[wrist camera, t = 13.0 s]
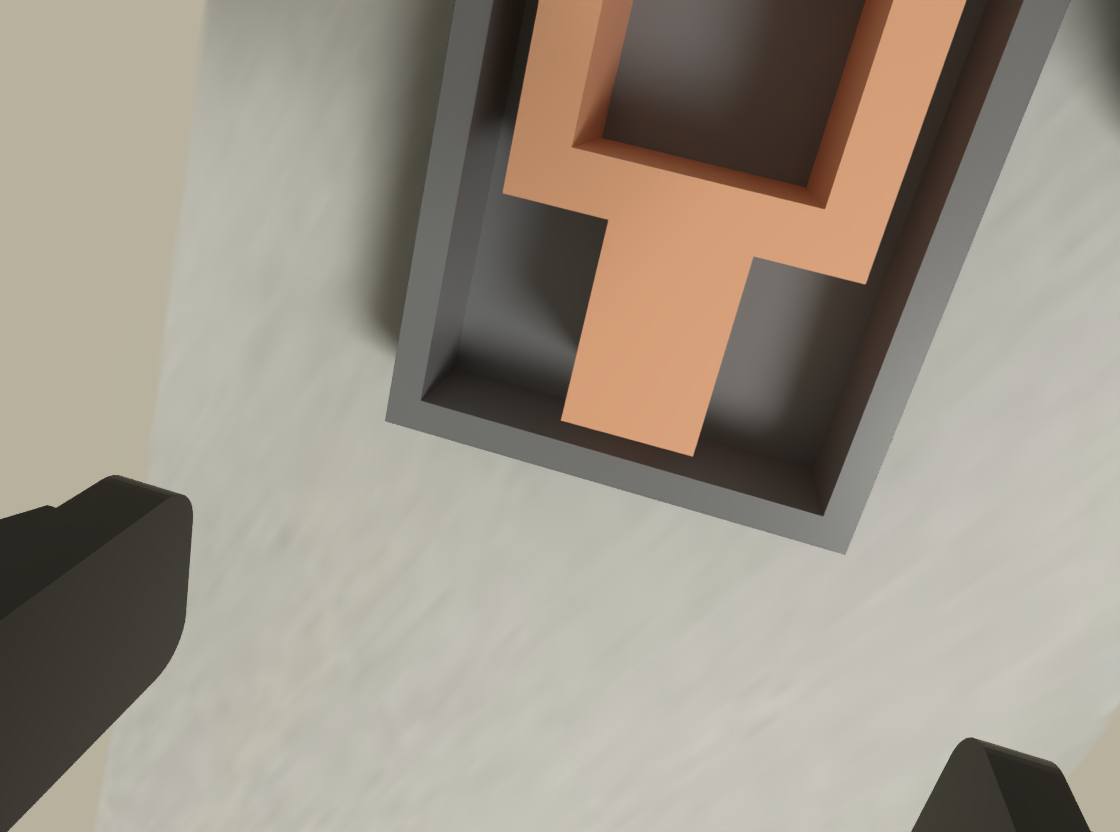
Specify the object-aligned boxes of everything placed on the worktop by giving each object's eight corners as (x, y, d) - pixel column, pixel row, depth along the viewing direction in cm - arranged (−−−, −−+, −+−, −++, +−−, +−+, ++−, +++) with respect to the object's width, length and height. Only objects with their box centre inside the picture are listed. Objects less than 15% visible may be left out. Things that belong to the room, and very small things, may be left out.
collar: (615, -166, 19) (584, -239, 15) (955, -95, 19) (1019, -150, 15) (510, 342, 24) (464, 394, 20) (782, 415, 23) (794, 484, 19)
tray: (554, -302, 19) (519, -383, 16) (1094, -189, 18) (1171, -250, 15) (429, 379, 25) (385, 420, 22) (829, 493, 24) (844, 554, 21)
